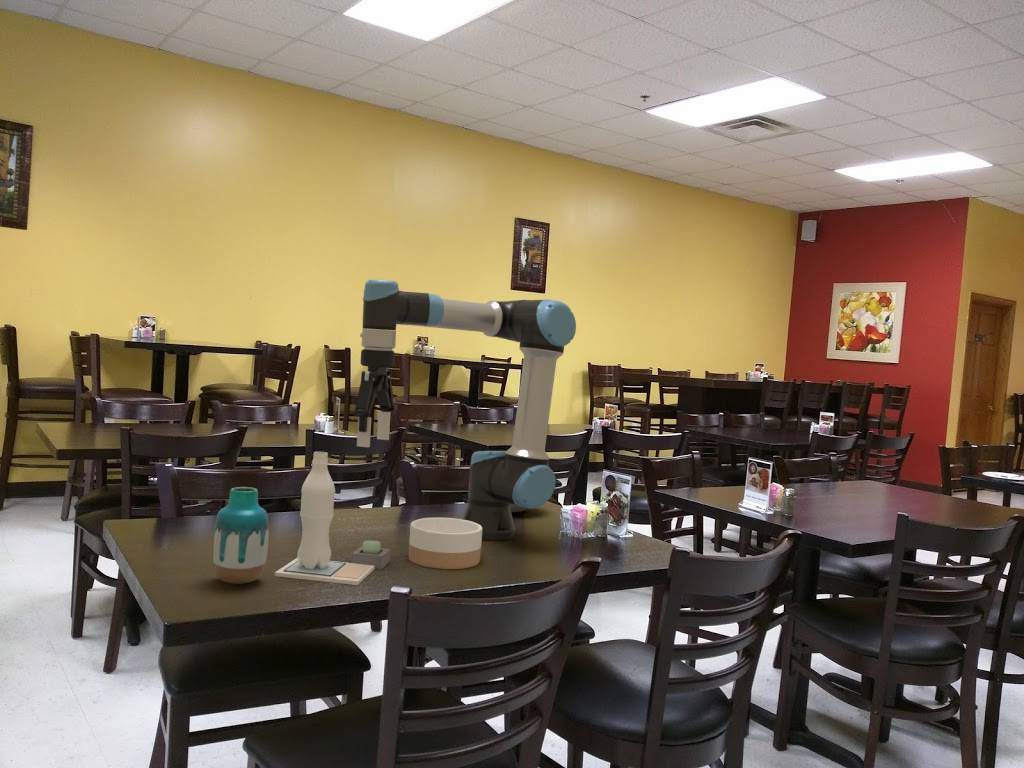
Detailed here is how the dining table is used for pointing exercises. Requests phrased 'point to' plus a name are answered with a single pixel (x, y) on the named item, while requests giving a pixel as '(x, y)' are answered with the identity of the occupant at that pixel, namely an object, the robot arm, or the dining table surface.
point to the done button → (371, 547)
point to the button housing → (371, 558)
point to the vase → (241, 538)
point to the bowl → (445, 543)
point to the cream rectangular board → (328, 572)
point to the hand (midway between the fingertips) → (373, 443)
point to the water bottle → (316, 514)
